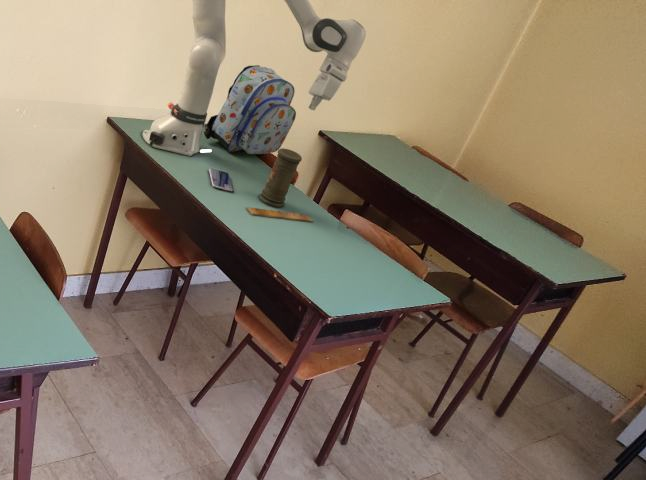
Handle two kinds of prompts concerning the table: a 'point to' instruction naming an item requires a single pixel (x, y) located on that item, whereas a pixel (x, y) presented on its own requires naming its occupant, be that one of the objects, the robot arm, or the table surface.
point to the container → (280, 178)
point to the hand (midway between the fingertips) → (311, 109)
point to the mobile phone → (220, 180)
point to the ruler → (279, 214)
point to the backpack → (254, 113)
